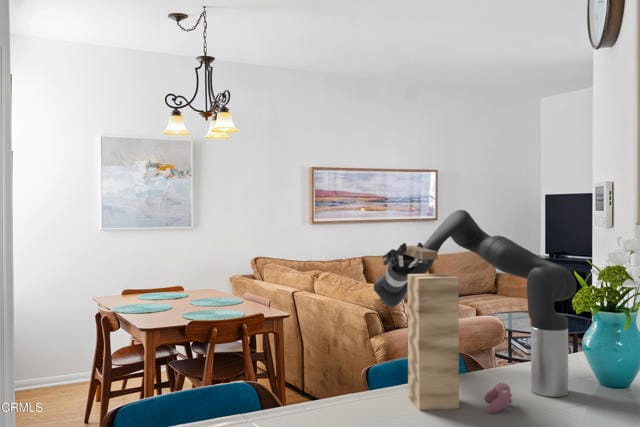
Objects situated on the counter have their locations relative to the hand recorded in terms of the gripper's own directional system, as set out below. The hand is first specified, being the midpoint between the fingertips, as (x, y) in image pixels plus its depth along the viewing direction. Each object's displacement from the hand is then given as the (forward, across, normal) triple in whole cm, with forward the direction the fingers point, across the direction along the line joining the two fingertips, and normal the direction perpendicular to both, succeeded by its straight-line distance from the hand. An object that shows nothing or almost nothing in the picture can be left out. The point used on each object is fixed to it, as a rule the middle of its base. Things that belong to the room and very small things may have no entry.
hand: (412, 246), depth 170 cm
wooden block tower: (-4, 0, +42) cm, 42 cm away
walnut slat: (+3, 0, +4) cm, 5 cm away
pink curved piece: (+1, +14, +45) cm, 47 cm away
